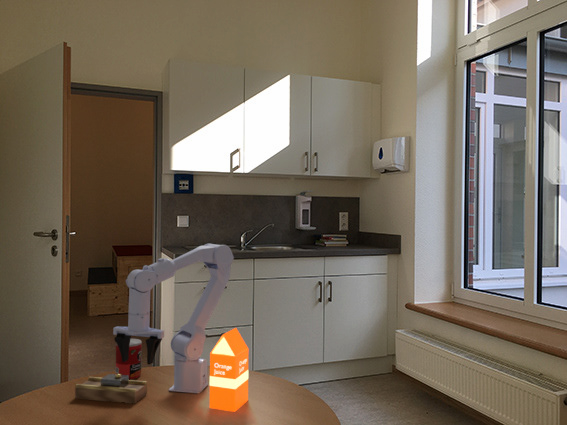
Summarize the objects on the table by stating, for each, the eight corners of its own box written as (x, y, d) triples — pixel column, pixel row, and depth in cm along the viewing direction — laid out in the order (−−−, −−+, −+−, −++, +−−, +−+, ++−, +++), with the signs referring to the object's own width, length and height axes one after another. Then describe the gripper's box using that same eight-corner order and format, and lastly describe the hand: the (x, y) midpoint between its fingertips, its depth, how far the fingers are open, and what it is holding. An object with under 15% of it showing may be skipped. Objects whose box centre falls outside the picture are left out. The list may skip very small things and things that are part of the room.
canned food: (134, 381, 152) (134, 345, 152) (110, 379, 154) (110, 343, 154) (145, 373, 160) (146, 339, 160) (123, 371, 161) (123, 337, 161)
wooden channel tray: (146, 394, 141) (146, 381, 141) (134, 403, 134) (134, 389, 134) (89, 389, 144) (89, 376, 144) (75, 398, 137) (75, 384, 137)
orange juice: (248, 400, 137) (249, 328, 137) (235, 412, 129) (236, 335, 129) (223, 396, 140) (223, 326, 140) (208, 408, 132) (209, 333, 132)
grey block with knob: (128, 384, 141) (128, 372, 141) (120, 389, 136) (120, 377, 136) (109, 382, 142) (109, 371, 142) (100, 387, 137) (100, 376, 137)
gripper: (107, 313, 135) (106, 363, 135) (156, 317, 132) (154, 368, 131) (121, 309, 142) (120, 356, 141) (168, 312, 138) (166, 361, 138)
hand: (137, 362), depth 137 cm, fingers open, 7 cm apart
